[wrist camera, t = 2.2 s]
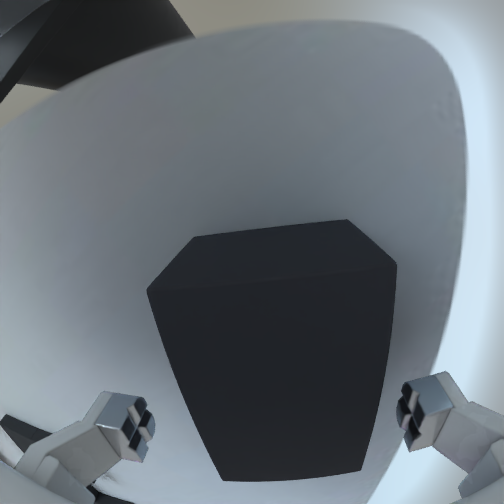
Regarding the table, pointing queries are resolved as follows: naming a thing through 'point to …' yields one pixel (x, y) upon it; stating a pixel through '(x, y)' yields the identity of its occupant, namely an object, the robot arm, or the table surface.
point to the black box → (279, 345)
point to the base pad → (30, 435)
